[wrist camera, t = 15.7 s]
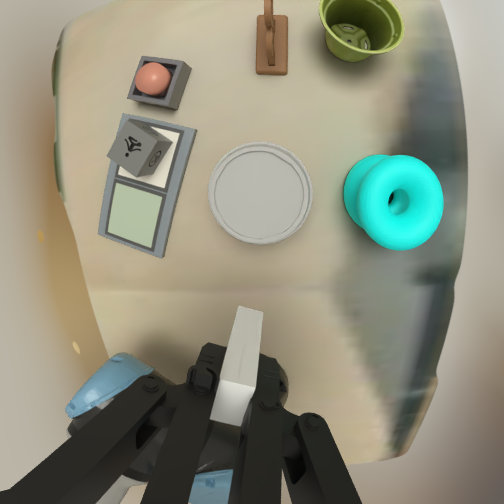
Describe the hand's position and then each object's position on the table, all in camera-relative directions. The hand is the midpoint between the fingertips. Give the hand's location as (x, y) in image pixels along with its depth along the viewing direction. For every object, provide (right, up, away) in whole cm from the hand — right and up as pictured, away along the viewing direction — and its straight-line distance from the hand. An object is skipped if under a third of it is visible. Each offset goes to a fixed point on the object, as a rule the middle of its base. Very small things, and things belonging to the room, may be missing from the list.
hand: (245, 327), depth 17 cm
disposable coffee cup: (+2, +13, +19) cm, 24 cm away
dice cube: (-13, +18, +18) cm, 29 cm away
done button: (-11, +26, +15) cm, 32 cm away
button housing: (-11, +27, +16) cm, 33 cm away
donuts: (+17, +12, +18) cm, 28 cm away
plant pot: (+13, +31, +12) cm, 36 cm away
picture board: (-15, +14, +21) cm, 29 cm away
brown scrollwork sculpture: (+3, +31, +14) cm, 34 cm away
